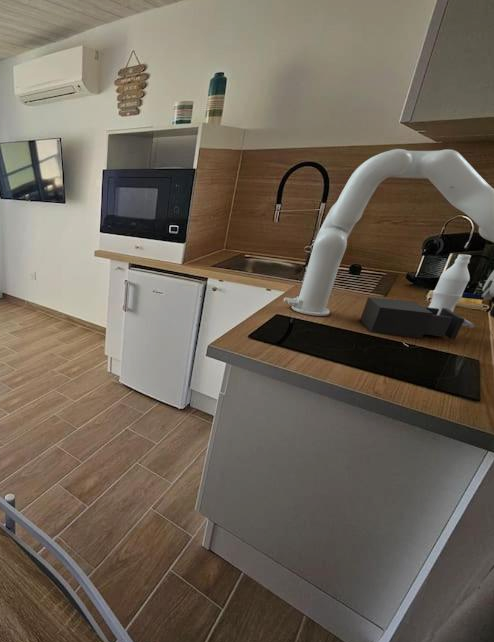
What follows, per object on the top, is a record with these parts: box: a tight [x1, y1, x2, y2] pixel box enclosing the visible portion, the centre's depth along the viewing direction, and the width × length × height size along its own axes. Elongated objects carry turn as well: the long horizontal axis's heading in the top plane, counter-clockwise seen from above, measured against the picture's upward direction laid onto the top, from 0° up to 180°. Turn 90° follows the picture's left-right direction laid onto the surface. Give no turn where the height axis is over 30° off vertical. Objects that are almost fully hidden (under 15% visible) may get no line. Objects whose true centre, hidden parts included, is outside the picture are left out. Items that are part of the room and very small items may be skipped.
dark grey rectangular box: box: [359, 296, 433, 339], centre depth 129 cm, size 14×12×9 cm
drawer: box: [423, 306, 476, 341], centre depth 125 cm, size 17×11×7 cm, turn 66°
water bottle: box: [428, 253, 472, 315], centre depth 132 cm, size 7×7×25 cm
